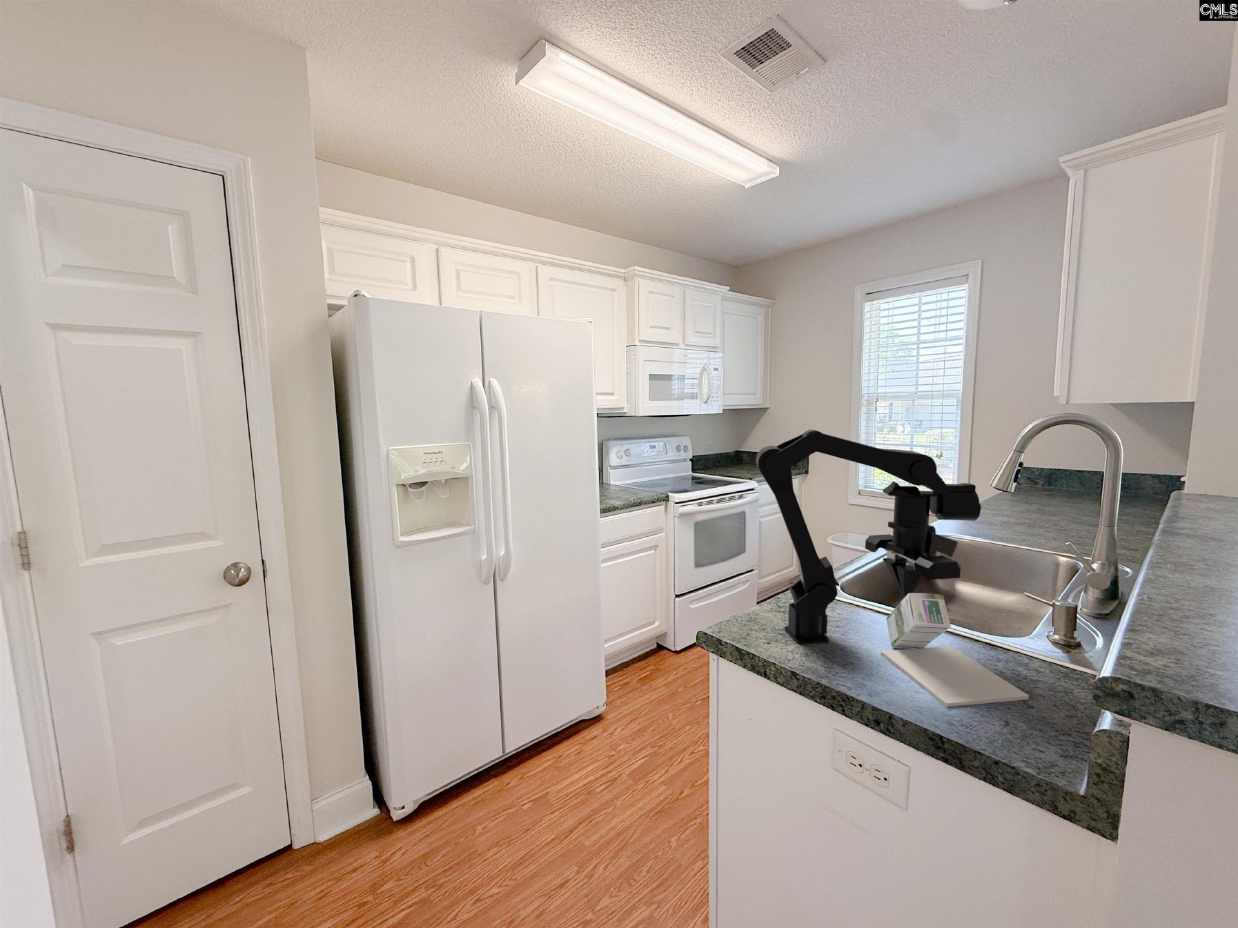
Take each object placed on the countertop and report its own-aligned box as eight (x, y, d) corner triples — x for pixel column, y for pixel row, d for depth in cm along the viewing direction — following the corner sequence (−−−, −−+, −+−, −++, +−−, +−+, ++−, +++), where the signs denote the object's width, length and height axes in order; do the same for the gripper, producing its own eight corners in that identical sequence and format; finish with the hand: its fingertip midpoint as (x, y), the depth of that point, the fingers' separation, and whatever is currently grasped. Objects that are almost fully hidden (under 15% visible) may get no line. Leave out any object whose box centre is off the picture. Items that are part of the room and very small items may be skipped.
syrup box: (923, 649, 94) (954, 627, 82) (889, 647, 95) (915, 625, 83) (916, 619, 97) (945, 593, 85) (884, 617, 98) (907, 591, 86)
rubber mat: (946, 707, 76) (946, 703, 76) (880, 654, 92) (881, 651, 92) (1028, 699, 78) (1028, 695, 78) (950, 648, 94) (950, 645, 94)
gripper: (992, 529, 85) (985, 616, 87) (915, 506, 103) (910, 578, 105) (933, 532, 84) (927, 620, 86) (865, 508, 102) (861, 581, 104)
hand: (906, 598), depth 95 cm, fingers closed
